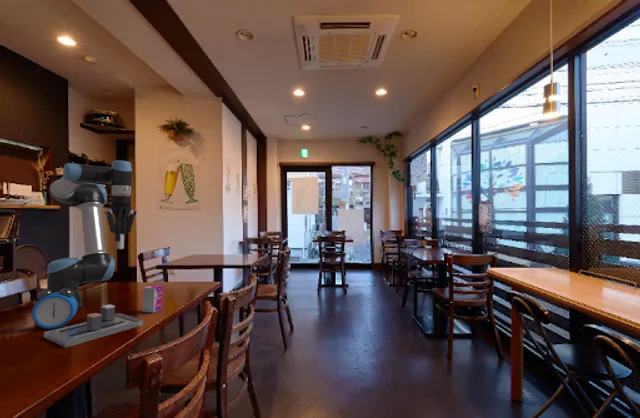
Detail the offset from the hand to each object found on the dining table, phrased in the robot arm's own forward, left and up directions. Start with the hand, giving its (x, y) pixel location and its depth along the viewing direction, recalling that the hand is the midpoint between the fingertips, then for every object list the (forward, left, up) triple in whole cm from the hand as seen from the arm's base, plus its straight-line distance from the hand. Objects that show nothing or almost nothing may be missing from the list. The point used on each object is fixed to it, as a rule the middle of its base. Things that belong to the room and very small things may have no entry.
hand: (120, 248), depth 142 cm
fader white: (+9, -9, -27) cm, 30 cm away
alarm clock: (-6, -21, -30) cm, 37 cm away
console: (+13, -15, -29) cm, 35 cm away
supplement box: (+7, +11, -30) cm, 32 cm away
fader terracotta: (+17, -18, -27) cm, 36 cm away
